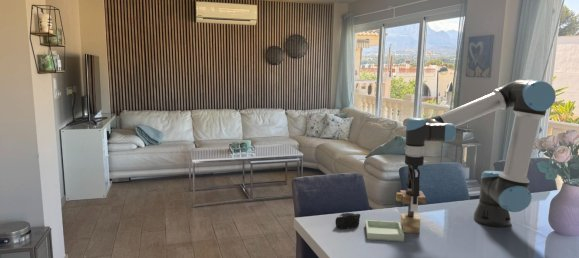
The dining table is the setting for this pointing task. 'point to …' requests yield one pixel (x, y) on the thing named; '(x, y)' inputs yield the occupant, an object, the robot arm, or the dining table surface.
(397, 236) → the tray
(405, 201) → the ring
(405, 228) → the block with upright handle
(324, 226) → the dining table surface
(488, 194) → the robot arm
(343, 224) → the mineral
